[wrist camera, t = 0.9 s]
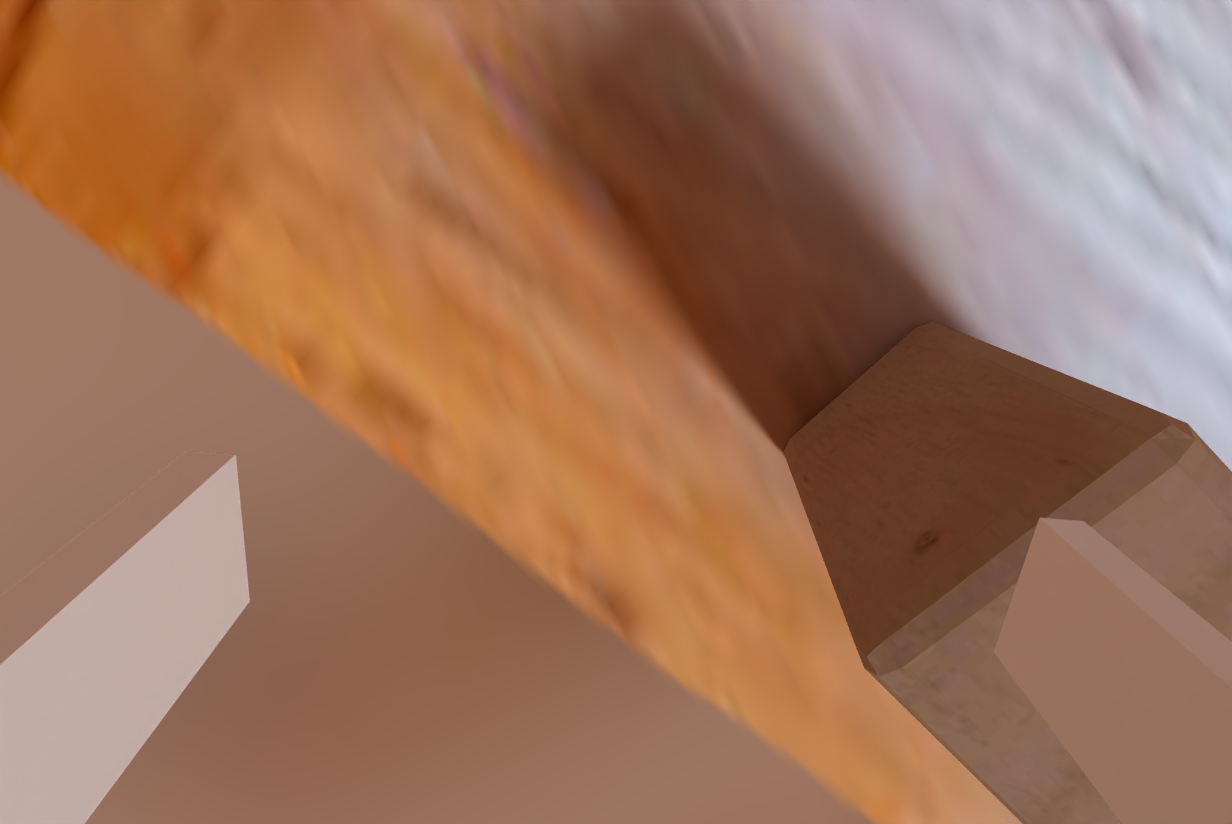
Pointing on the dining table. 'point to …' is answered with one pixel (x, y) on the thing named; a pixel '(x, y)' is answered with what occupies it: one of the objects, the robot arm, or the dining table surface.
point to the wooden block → (995, 534)
